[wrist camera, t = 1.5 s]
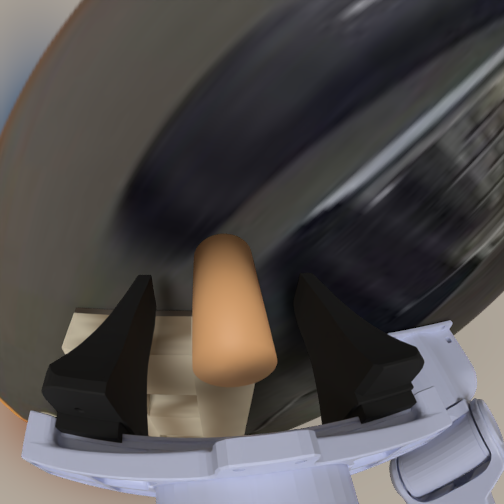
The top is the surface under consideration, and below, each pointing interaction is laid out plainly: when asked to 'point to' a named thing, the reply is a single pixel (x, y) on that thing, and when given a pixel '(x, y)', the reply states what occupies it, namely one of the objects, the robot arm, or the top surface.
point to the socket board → (175, 380)
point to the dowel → (229, 316)
